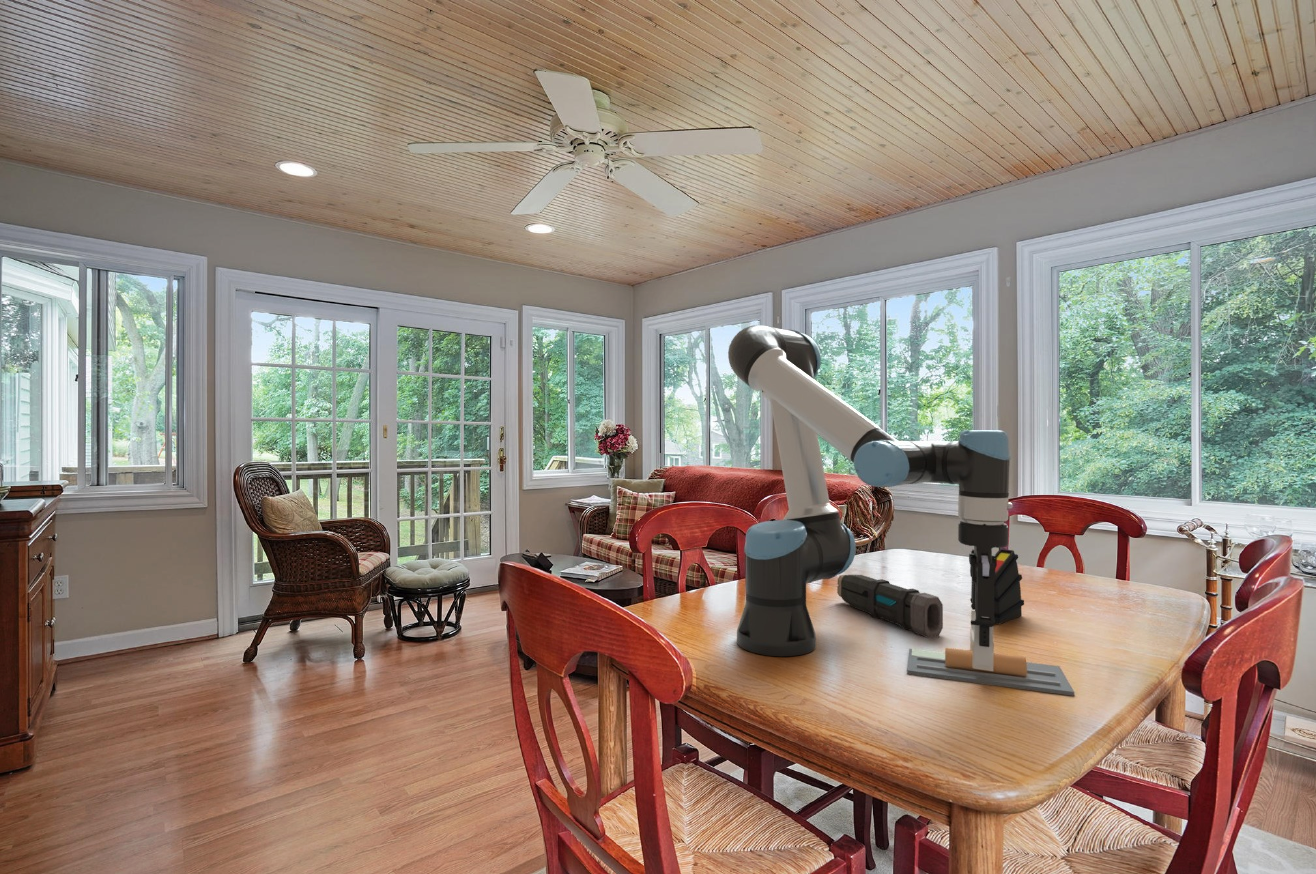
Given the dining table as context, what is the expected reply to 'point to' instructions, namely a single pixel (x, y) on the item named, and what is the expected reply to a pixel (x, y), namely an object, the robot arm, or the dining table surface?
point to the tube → (893, 603)
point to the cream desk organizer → (973, 654)
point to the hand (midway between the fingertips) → (981, 656)
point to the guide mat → (990, 674)
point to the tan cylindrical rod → (1000, 662)
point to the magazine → (1007, 587)
